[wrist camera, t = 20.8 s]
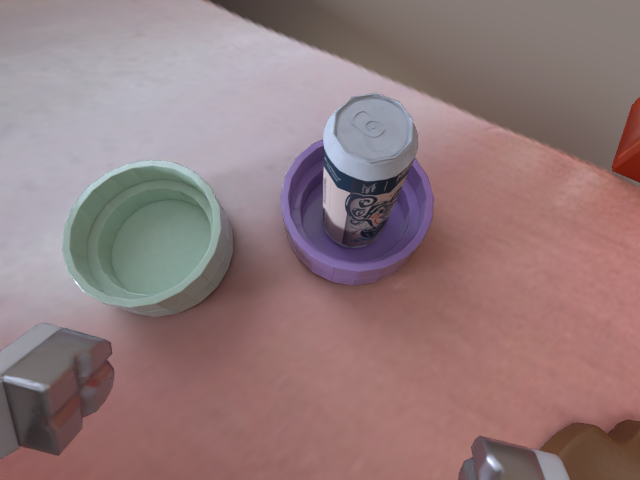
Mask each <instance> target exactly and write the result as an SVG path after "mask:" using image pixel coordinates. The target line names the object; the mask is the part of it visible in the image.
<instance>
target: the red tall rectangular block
mask: <svg viewBox="0 0 640 480" xmlns="http://www.w3.org/2000/svg"><path fill="white" fill-rule="evenodd" d="M612 168H613V170H612V171H614V172H616V173H619V174H621V175H623V176H626V177H628V178H630V179H633V180H635V181H637V182H640V98H638V99H637V100H636V101H635V103H634V104H633V105H632V107H631V110H630V113H629V116H628V119H627V122H626V125H625V128H624V131H623V135H622V138H621V141H620V143H619V147H618V150H617V153H616V156H615V159H614V162H613V165H612Z"/></svg>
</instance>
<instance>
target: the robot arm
mask: <svg viewBox="0 0 640 480" xmlns="http://www.w3.org/2000/svg"><path fill="white" fill-rule="evenodd" d="M111 355H112V347H111V342H109V341H107V340H105V339H102V338H98V337H95V336H91V335H88V334H84V333H81V332H77V331H74V330H70V329H67V328H62V327H59V326H55V325H52V324H48V323H43V324H39V325H36V326H35V327H33V328H32V329H31V330H29V331H28V332H26V333H25V334H24V335H22V336H21V337H20V338H18V339H17V340H16V341H14V342H13V343H11V344H10V345H9V346H7V347H6V348H5V349H3V350H2V351H0V459H2V458H4V457H5V456H7V455H9V454H11V453H12V452H14V451H16V450H18V449H19V446H22V447H26V448H30V449H34V450H38V451H42V452H46V453H50V454H54V455H57V456H59V455H60V454H61V453H62V451H63V450H64V449H65V448H66V447H67V446H68V444H69V443H70V442H71V441H72V440H73V439H74V437H75V436H76V435H77V434H78V433H79V432H80V430H81V429H82V426H83V418H84V417H86V416H88V415H90V414H92V413H94V412H96V411H97V410H98V409H99V408H100V407H101V406H102V404H103V403H104V402H105V401H106V399H107V397H108V395H109V393H110V391H111V389H112V386H113V381H114V368H113V367H112V366H111V364H110V363H109V362H108V360H107V359H108V358H109V357H110V356H111ZM471 450H472V455H473V457H472V458H470V459H468V460H466V461H464V463H463V465H462V467H461V469H460V472H459V477H458V480H570V479H569V476H568V474H567V472H566V469H565V467H564V465H563V462H562V460H561V459H560V458H559V457H558V456H557V455H555V454H551V453H547V452H543V451H539V450H535V449H531V448H527V447H524V446H520V445H516V444H512V443H508V442H504V441H500V440H496V439H491V438H487V437H483V436H479V437H477V438H476V439H475V441H474V443H473V444H472V446H471Z"/></svg>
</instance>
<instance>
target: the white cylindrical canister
mask: <svg viewBox="0 0 640 480" xmlns="http://www.w3.org/2000/svg"><path fill="white" fill-rule="evenodd" d="M323 143H324V173H323V212H322V224H323V227H324V229H325V231H326V233H327V234H328V236H329V237H330V238H331V239H332V240H333V241H335V242H336V243H338V244H340V245H342V246H345V247H349V248H359V247H364V246H367V245H369V244H371V243H373V242H374V241H375V240H376V239H377V238H378V237H379V236H380V234H381V233H382V231H383V230H384V227H385V225H386V223H387V220H388V218H389V216H390V213H391V211H392V209H393V206H394V204H395V202H396V200H397V197H398V195H399V193H400V190H401V188H402V186H403V183H404V181H405V179H406V176H407V174H408V172H409V170H410V167H411V165H412V163H413V160H414V158H415V155H416V152H417V149H418V134H417V130H416V127H415V125H414V123H413V119H412V117H411V116H410V115H409V114H408V112H407V111H406V110H405V108H404V107H403V106H402V104H401V103H400V102H399V101H397V100H394V99H392V98H389V97H386V96H384V95H381V94H378V93H371V94H365V95H359V96H353V97H351V98H350V99H349V100H348V101H347V102H346V103H344V104H343V105H342V106H341V107H340V108H338V109H337V110H336V111H335V112H334V113H333V114H332V115H331V117H330V118H329V120H328V122H327V124H326V126H325V129H324V137H323Z"/></svg>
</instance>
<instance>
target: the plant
mask: <svg viewBox="0 0 640 480" xmlns="http://www.w3.org/2000/svg"><path fill="white" fill-rule="evenodd" d="M540 451H543V452H547V453H551V454H555V455H557V456H558V457H559V458H560V459H561V460H562V462H563V465H564V467H565V469H566V472H567V474H568V476H569V479H570V480H640V421H633V420H627V421H623V422H622V423H620V424H619V425H618V426H617V427H615V428H614V429H613V430H612V431H611V432H610V434H608V435H607V434H606V433H605V432H604V431H603V430H601V429H600V428H599V427H597V426H595V425H591V424H584V423H573V424H571V425H569V426H568V427H566V428H564V429H563V430H561V431H559V432H558V433H557V434H555V435H554V436H553V437H552V438H551V439H550V440H549V441H548V442H547V443H546V444H545V445H544V446H543V448H542V449H541V450H540Z"/></svg>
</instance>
